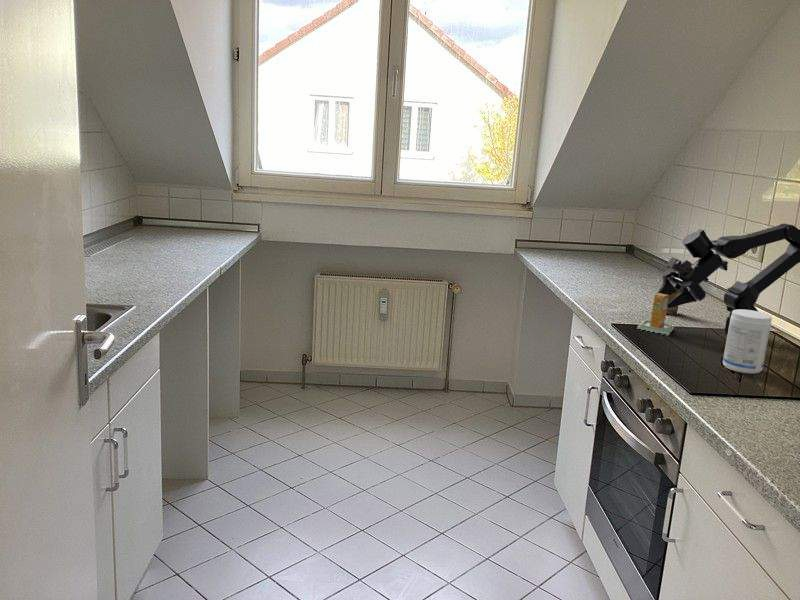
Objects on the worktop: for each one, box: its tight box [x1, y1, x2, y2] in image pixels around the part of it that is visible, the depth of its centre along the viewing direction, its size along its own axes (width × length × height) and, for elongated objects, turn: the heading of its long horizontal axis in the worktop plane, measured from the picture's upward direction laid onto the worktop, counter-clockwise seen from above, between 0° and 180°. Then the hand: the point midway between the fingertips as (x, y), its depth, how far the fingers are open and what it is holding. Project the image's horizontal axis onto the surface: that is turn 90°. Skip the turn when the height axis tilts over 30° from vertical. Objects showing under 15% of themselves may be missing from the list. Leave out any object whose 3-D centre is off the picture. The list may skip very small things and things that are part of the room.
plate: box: [636, 319, 675, 336], centre depth 227 cm, size 9×9×2 cm
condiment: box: [666, 289, 687, 317], centre depth 251 cm, size 7×8×12 cm
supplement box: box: [649, 292, 669, 328], centre depth 226 cm, size 3×3×10 cm
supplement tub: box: [722, 309, 773, 375], centre depth 192 cm, size 10×10×15 cm
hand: (661, 303), depth 225 cm, fingers open, 9 cm apart
